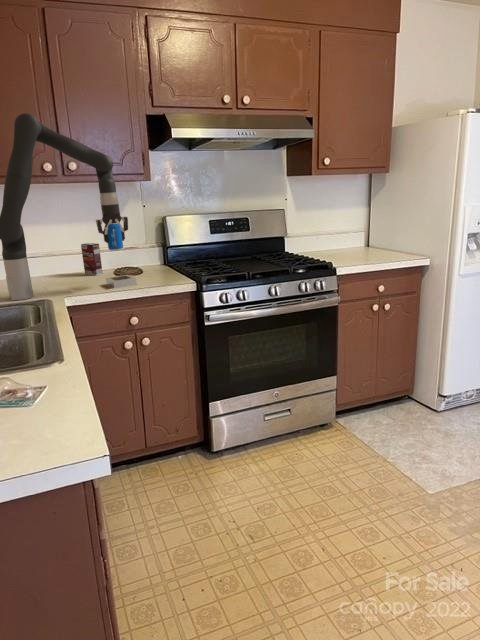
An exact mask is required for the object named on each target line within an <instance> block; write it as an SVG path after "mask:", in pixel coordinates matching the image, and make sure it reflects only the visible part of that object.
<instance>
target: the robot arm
mask: <svg viewBox="0 0 480 640" xmlns="http://www.w3.org/2000/svg"><path fill="white" fill-rule="evenodd" d="M13 123H14V125H13V127H14V128H13V129H14V131H13V142H12V143H13V144H12V145H13V146H12V149H11V153H10V156H9V160H8V164H7V168H6V174H5V179H4V187H3V197H2V206H1V211H0V241H1V247H2V250H1V251H2V252H1V255H2V260H3V266H4V270H5V281H6V284H7V291H8V295H9V297H8V298H9V299H10V300H11V301H21V300H27V299H32V298H33V297H34V290H33V289H34V288H33V284H32V279H31V278H32V277H31V272H30V267H29V262H28V256H27V245H26V239H25V238H26V237H25V232H24V229H23V225H22V224H21V220H22V213H23V208H24V206H25V204H26V201H27V199H28V196H29V193H30V189H31V183H32V176H33V156H34V155H33V154H34V149H35V145H36V142H38V143H42V144H44V145H47V146H49V147H50V148H53V149H55V150H56V151H59V152H61V153H62V154H64V155H66V156H68V157H69V158H72V159H74V160H75V161H78V162H80V163H82V164H86V165H88V166H90V167H92V168H94V169H95V173H96V177H97V181H98V183H97V184H98V189H99V201H100V202H99V203H100V209H101V215H102V218H100V219H96V220H95V223H96V227H97V231H98V233H99V234H101V235H103V241H104V243H106V244H108V243H109V240H108V235H107V233H108V226H109V224H112V223H119V225H120V228H121V234H122V241H123V242H124V241H125V240H126V236H125V232H126V231H129V219H128V216H121V212H120V203H119V197H118V194H117V187H116V186H117V185H116V182H115V179H114V175H113V168H114V161H113V159H112V158H111V157H110V156H109V155H107V154H105V153H103V152H100V151H98V150H95V149H93V148H91V147H89V146H88V145H86V144H84V143H81V142H80V141H78V140H75V139H74V138H71V137H68V136H66V135H64V134H61V133H59V132H57V131H54V130H53V129H50V128H49V127H48V126H46V125H44V124H43V123H41V122H40V121H39V120H38V119H37V118H36V117H35V116H34V115H33V114H31V113H27V112H25V113H24V112H23V113H21V114H18V115H17V116H16V117H15V119H14V122H13ZM121 221H122V222H123V226H122V224H121ZM103 223H104V226H103V228H102V225H103ZM106 225H107V227H105V226H106Z"/></svg>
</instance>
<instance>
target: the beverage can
mask: <svg viewBox="0 0 480 640" xmlns="http://www.w3.org/2000/svg"><path fill="white" fill-rule="evenodd" d="M104 226H105V225H104ZM105 227H107V225H106V226H105ZM107 235H108V240H109V243H107V247H108V250H109V251H110V252H116V251H122V250H123V248H124V244H123V242H124V241H122V234H121V228H120V225H119V223H112V224H109V226H108V233H107Z"/></svg>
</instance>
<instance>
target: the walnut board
mask: <svg viewBox="0 0 480 640" xmlns="http://www.w3.org/2000/svg"><path fill="white" fill-rule="evenodd" d="M99 287H100V288H102V289H104V290H107V291H108V290H113V289H114V288H113V287H111V286H109V285H107V284H102V285H99Z"/></svg>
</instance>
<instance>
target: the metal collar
mask: <svg viewBox="0 0 480 640" xmlns="http://www.w3.org/2000/svg"><path fill="white" fill-rule="evenodd" d="M105 283H106V284H105V285H109V286H111V287H113V289H117V288H119V289H120V288H123V287H124V288H125V287H130V286H135V285H138V283H137V278H136V277H135V276H132V275H129V274H122V275H117V276H110V277H106V278H105Z"/></svg>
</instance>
